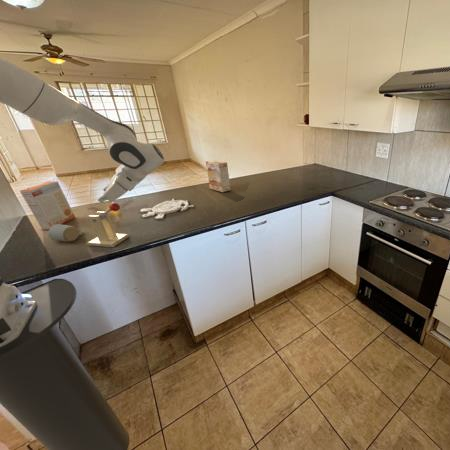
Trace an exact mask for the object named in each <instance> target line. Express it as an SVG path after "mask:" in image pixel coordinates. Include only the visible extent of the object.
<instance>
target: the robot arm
mask: <svg viewBox="0 0 450 450" xmlns="http://www.w3.org/2000/svg"><path fill="white" fill-rule="evenodd" d="M0 103H1V104H3V105H6V106H8V107H9V108H11V109H13V110H15V111H17V112H19V113H21V114H23V115H24V116H27V117H29V118H30V119H33V120H35V121H37V122H40V123H43V124H46V125H48V126H58V125H64V124H66V123H67V122H70V121H71V122H76V123H78V124H81V125H83V126H84V127H87V128H89V129H90V130H92V131H94V132H97V133H98V134H100V135H101V136H102V137H103V138H104V139H105V141H106V144H107V149H108V153H109V156H110V157H111V159H112V160H114V161H115V162H117V163H118V164H119V166H118V167H116V169H115V174H113V175H112V176H111V178H110V180H109V183H107V184H106V186H105V187H103V191H104V192H103V194H102V195H100V197H98V198H97V201H98V203H101V204H103V203H104V202H106V201H109V202H114V201H116V200H117V199H119V198H121V197H122V196H123V195H125V194H126V193H128V192H131V191H132V190H134V189H135V188H136V186H138V185H139V184H140V183H141V182H142V181H143V180H145V178H146V177H147V176H149V175H150V174H152V173H154V172H156V170H158V168H160V167H161V165H163V163H164V161H165V157H164V155H163V153H162V151H161V150H160V149H159V148H158V146H156V144H153V143H150V144H149V143H144V142H140V141H138V140H137V135H136V132H135V130H134V129H133V128H132V127H130V126H129V125H127V124H126V123H122V122H119V121H115V120H113V119H110V118H109V117H106V116H104V115H103V114H101V113H99V112H98V111H96V110H94V109H92V108H90V107H88V106H87V105H85V104H83V103H81V102H80V101H78V100H75V99H73V98H72V97H70V96H69V95H66V94H65V93H63V92H62V91H60V90H58V89H57V88H55V87H54V86H52V85H51V84H49V83H48V82H46V81H44V80H43V79H41V78H40V77H38V76H36V75H34V74H33V73H31V72H30V71H27V70H26V69H24V68H22V67H20V66H18V65H16V64H14V63H12V62H11V61H8V60H7V59H4V58H1V57H0ZM21 293H22V292H21V291H20V290H19V289H18V288H17V287H16V286H15V285H13V284H12V285H10V284H8V283H5V282H4V280H3V278H2V276H1V275H0V347H2V346H4V345H6V344H8V343H9V342H11V341H13V340H14V339H16V338H17V337H18V336H19V335H20V333H21V332H22V330H23V328H24V326H25V325H26V323H27V321H28V319H29V318H30V316H31V314H32V312H33V311H34V309H35V307H36V306H37V303H36V302H35V301H27V300H26V298H25V297H31V295H26V294H21Z"/></svg>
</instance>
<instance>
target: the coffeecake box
mask: <svg viewBox="0 0 450 450" xmlns="http://www.w3.org/2000/svg"><path fill="white" fill-rule="evenodd" d="M205 166H206V172H207V178H208V185H209V190H213V191H216V192H221V193H225V192H229V191H231V183H230V182H231V181H230V174H229V166H228V162H227V161H222V160H216V159H211V160H206V161H205Z"/></svg>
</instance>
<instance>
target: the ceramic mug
mask: <svg viewBox="0 0 450 450" xmlns="http://www.w3.org/2000/svg"><path fill="white" fill-rule="evenodd" d="M47 231H48V232H47V234H48V237H49V239H51V240H52V241H54V242H66V243H70V242H71V243H72V242H74V241H76V240H77V239H78V238H79V236H81V235H84V231H83V230H79V229H78V228H77V227H76V226H72V225H67V224H56V225H53V226H52V227H51V228H50V229H48V230H47Z"/></svg>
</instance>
